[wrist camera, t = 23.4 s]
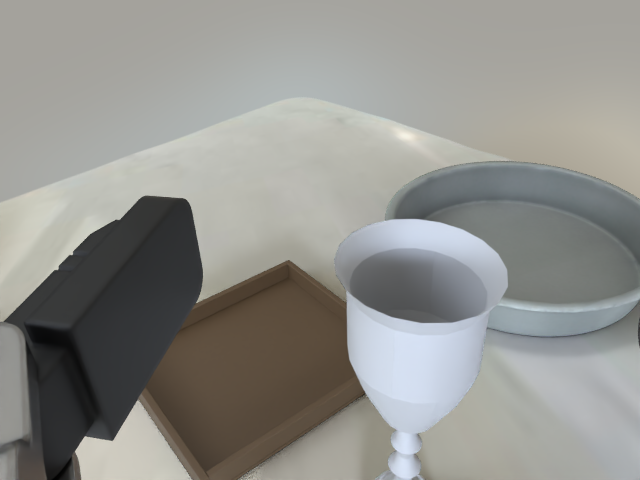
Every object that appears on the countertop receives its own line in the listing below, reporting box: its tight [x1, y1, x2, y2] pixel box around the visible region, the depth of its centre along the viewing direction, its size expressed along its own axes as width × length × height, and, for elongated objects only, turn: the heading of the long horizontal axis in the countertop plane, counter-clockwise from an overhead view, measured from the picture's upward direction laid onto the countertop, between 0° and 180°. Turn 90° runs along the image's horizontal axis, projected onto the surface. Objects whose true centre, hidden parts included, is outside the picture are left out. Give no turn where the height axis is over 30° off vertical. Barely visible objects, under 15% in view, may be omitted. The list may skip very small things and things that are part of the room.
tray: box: [138, 260, 365, 480], centre depth 43 cm, size 17×15×2 cm
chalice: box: [334, 219, 508, 480], centre depth 28 cm, size 7×7×18 cm
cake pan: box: [385, 161, 640, 337], centre depth 52 cm, size 25×25×4 cm
